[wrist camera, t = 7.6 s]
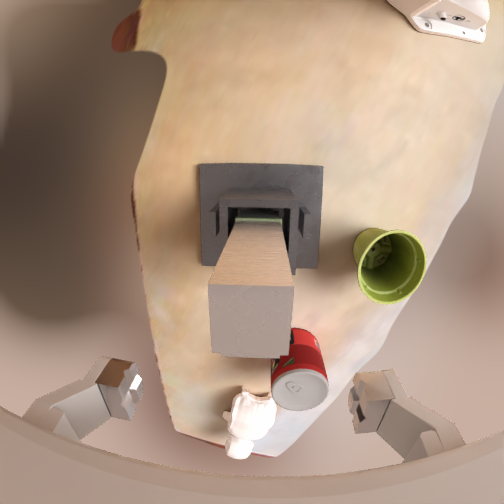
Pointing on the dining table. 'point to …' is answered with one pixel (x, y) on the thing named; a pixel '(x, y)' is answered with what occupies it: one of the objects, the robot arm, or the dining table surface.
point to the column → (252, 290)
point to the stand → (262, 205)
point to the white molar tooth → (248, 422)
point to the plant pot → (389, 264)
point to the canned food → (299, 374)
